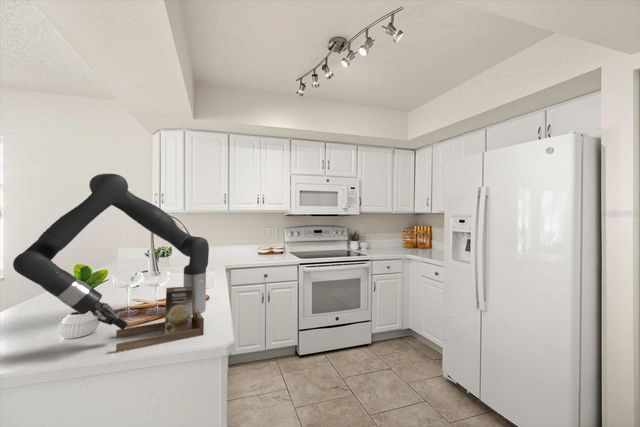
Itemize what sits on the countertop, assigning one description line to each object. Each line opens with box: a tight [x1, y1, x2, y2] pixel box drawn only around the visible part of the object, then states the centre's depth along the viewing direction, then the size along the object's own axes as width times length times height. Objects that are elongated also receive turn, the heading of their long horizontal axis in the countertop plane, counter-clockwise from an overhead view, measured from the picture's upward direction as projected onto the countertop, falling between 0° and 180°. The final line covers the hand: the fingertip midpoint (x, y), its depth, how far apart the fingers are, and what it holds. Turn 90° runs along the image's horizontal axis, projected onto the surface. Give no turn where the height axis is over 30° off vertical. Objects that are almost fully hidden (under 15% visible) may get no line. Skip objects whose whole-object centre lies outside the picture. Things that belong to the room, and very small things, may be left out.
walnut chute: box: [115, 308, 205, 353], centre depth 110 cm, size 14×27×6 cm, turn 123°
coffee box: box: [164, 286, 193, 334], centre depth 115 cm, size 9×6×16 cm
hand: (125, 326), depth 104 cm, fingers closed
